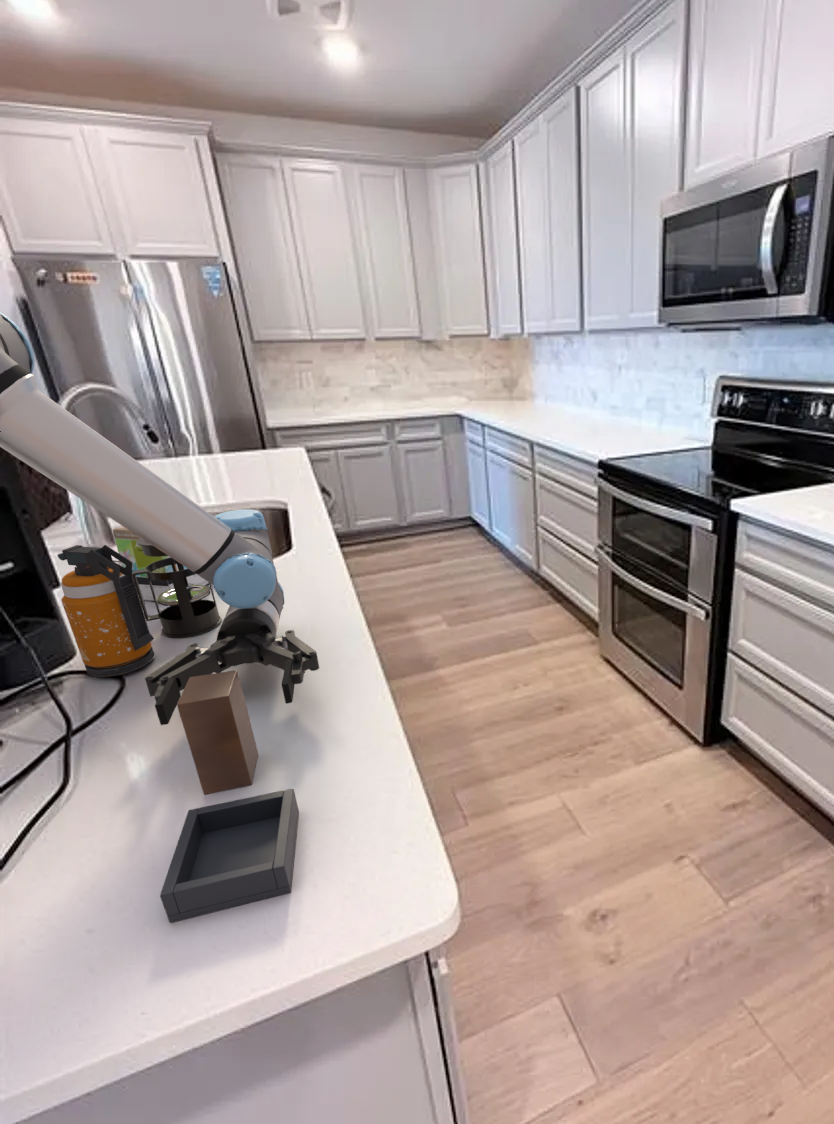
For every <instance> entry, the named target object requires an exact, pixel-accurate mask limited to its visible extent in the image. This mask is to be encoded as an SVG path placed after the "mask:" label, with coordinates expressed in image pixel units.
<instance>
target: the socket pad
mask: <svg viewBox="0 0 834 1124" xmlns="http://www.w3.org/2000/svg"><path fill="white" fill-rule="evenodd" d="M299 815H300V810H299V807H298V802H297V798H296V793H295V789H294V788H288V789H284V790H279V791H274V792H269V793H268V792H267V793H264V794H259V795H255V796H249V797H244V798H240V799H235V800H230V801H225V802H221V803H216V804H215V803H214V804H211V805H207V806H201V807H196V808H191V809H188V811H187V813H186V816H185V820H184V823H183V826H182V829H181V832H180V835H179V838H178V841H177V843H176V846H175V850H174V852H173V854H172V855H173V856H172V858H171V862H170V864H169V868H168V871H167V874H166V876H165V880H164V882H163V886H162V889H161V891H160V893H159V897H160V900H161V903H162V905H163V909H164V911H165V914H166V916H167V920H168V923H175V922H179V921H183V920H186V919H190V918H191V919H192V918H194V917H198V916H203V915H207V914H210V913H214V912H219V911H222V910H227V909H230V908H234V907H238V906H239V907H240V906H242V905H243V906H244V905H247V904H250V903H254V902H259V901H262V900H266V899H270V898H274V897H278V896H282V895H287V894H291V892H292V887H293V886H292V885H293V876H294V866H295V857H296V846H297V837H298V836H297V835H298V827H299V817H300V816H299Z"/></svg>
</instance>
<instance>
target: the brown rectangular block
mask: <svg viewBox="0 0 834 1124" xmlns="http://www.w3.org/2000/svg"><path fill="white" fill-rule="evenodd" d="M176 708H177V710H178V713H179V716H180V720H181V723H182V726H183V730H184V733H185V736H186V739H187V744H188V745H189V750H190V753H191V757H192V760H193V763H194V766H195V770H196V773H197V776H198V779H199V782H200V786H201V790H202V793H203V795H208V794H215V793H218V792H223V791H229V790H232V789H238V788H243V787H248V786H252V785H253V780H254V776H255V772H256V767H257V762H258V758H259V751H258V747H257V743H256V739H255V736H254V732H253V727H252V723H251V719H250V716H249V712H248V706H247V703H246V700H245V695H244V691H243V687H242V683H241V679H240V675H239V672H238V670H237V669H233V670H227V671H222V672H220V673H212V674H208V675H201V676H195V677H190V678H189V680H188V682H187V684H186V686H185V688H184V689H183V690H182V693H181V697H180V699H179V701H178V703H177V706H176Z"/></svg>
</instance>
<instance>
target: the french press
mask: <svg viewBox="0 0 834 1124" xmlns="http://www.w3.org/2000/svg"><path fill="white" fill-rule="evenodd" d="M137 544H138V545H139V546H141V547H142V550H143V553H144V555H146V556H152V557H160V556H168V555H167V554H165V553H163V552H162V551H160V550H159V549H157V548H156V547H154V546H153V545H151V544H150V543H148V542H146V541H145V540H143V539H142V538H140V539H138V540H137ZM169 565H171V566H172V569H173V572H167V573H153V572H152V571H154V570H156V569H159V568H162V567H165V566H169ZM145 573H146V575H147V578H148V581H149V585H150V588H151V591H152V595H153V598H154V601H153V602H154V604H155V608H156V611H157V614H152V615H149V613H148V610H147V607H146V604H145V600H143V597H142V594H141V590H140V587H139V584H138V581H137V577H136V575H139V574H145ZM195 574H196V573H194V572H193V571H191V570H190V569H184V566H183V565H182V564H180V563H179V562H177V561H176V560H174V559H173V558H166V559H162V560H159V561H156V562H153V563H151V564H149V565H148V566H147V567H146V568H145V569H142V570H136V571H133V573H132V576H133V580H134V583H135V585H136V588H137V589H136V590H137V593H138V596H139V599H140V603H141V606H142V610H143V613H144V616H145V620H146V622H151V621H156V620H159V621H160V625H161V634H162V635H163V636H164V637H165V638H170V639H184V638H191V637H196V636H199V635H200V636H201V635H203V634H206V633H208V632H210V631H213V630H214V629H216V628H218V627H219V626H221V624H222V622H223V619H222V617H221V615H220V613H219V609H218V605H217V601H216V598H215V593H214V588H213V585H212V584H211V583H208V584H209V585H207V584H206V585H188V581H187V578H186V577H188V576H192V575H195ZM150 579H151V580H160V581H161V580H172V582H173V586H174V588H173V589H170V590H167V591H165V592H163V593H161V594H159V595H158V596H157V597H155V593H154V590H153V587H152V583H151V580H150ZM209 595H211V597H212V600H211V599H205V598H207V597H208V596H209ZM159 605H160V606H166V608H164V609H163V610H160V607H159ZM220 623H221V624H220ZM218 625H219V626H218Z"/></svg>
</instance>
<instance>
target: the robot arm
mask: <svg viewBox="0 0 834 1124" xmlns="http://www.w3.org/2000/svg"><path fill="white" fill-rule="evenodd" d="M34 370H35V353H34V349H33V346H32V344H31V343H30V340H29V338H28V337H27V335H26V334H25V332H24V331H23V330H22V329H21V327H19V325H18V324H17V323H16V322H14V320H12V319H11V318H10V317H9V316H7V315H6V314H4V313H3V312H1V311H0V431H1V432H0V448H1V449H3V450H4V451H6V452H7V453H9V454H11V455H12V456H14V457H15V458H16V459H19V460H20V461H21V462H23V463H24V464H26V465H28V466H29V467H31V468H32V469H34V470H35V471H36V472H38V473H40V474H42V475H43V476H45V477H46V478H47V479H49V480H51V481H52V482H54V483H55V484H57V485H58V486H60V487H61V488H63V489H65V490H66V491H68V492H69V493H71V494H72V495H74V496H75V497H77V498H79V500H81V501H83V502H84V503H86V504H88V505H89V506H91V507H92V508H94V509H95V510H97V511H98V512H100V513H102V514H103V515H105V516H106V517H108V518H110V519H111V520H112V521H114V522H115V523H117V524H119V525H120V526H123V527H125V528H126V529H128V530H130V531H131V532H133V533H134V534H136V535H137V536H139V537H140V538H142V539H143V540H145V541H146V542H148V543H150V544H151V545H153V546H154V547H156V548H157V549H159V550H160V551H162V552H163V553H165V554H167V555H168V556H170V557H171V558H173V559H174V560H176V561H177V562H179V563H180V564H182V565H184V566H185V567H187V568H188V569H190V570H191V571H193V572H194V573H196V574H197V575H199V576H200V577H202V578H203V579H205V580H206V581H208V582H209V583H211V585H212V586H213V590H214V591H215V592H216V594H217V596H218V597H219V599H220V600H221V601H223V603H225V604H226V605H228V609H227V611H226V613H225V615H224V618H223V619H222V621H221V624H220V626H219V630H218V632H217V634H216V635H217V636H216V641H214V642H213V643H212V644H211V645H210V646H209V647H200V646H199V643H198V642H197V643H196V642H195V643H191V644H189V645H188V646H187V647H186V649H185V650H184V651H183V652H181V653H180V654H178V655H177V656H175V657H174V658H172V659H170V660H169V661H168V662H166V663H165V664H163V665H162V666H160V667H159V668H157V669H156V670H154V671H153V672H152V673H149V675H147V676H145V677H144V681H145V683H146V687H147V690H148V694H149V696H150V697H153V698H154V700H155V704H154V708H155V711H156V714H157V718H158V721H159V724H160V726H165V725H169V723H170V721H171V719H172V717H173V714H174V712H175V710H176V708H177V703H178V701H179V699H180V697H181V695H182V693H181V691H183V690H184V688H185V686H186V684H187V682H188V680H189V678H190V677H195V676H201V675H208V674H214V673H221V672H225V671H226V670H227V669H229V668H231V667H237V666H240V665H250V664H251V665H252V664H257V663H258V664H260V665H263V666H266V667H267V666H272V667H275V668H277V669H280V670H283V674H282V681H281V688H282V694H283V697H284V702H285V704H291V703H293V699H294V692H295V685H299V684H300V685H301V684H302V683H303V682H304V677H305V673H306V671H308V670H309V671H311V672H314V671H318V670H319V669H320V665H319V660H318V659H319V658H318V653H317V651H316V650H315V649H313V647H311V646H309V645H308V644H306V643H305V642H304V641H302V640H301V639H300V638H298V637H297V636H296V634H295V631H294V629H289V630H286V631H285V633H284V634H283V635H281V636H280V637H277V633H278V629H279V624H280V618H281V615H282V612H283V609H284V605H285V592H284V588H283V586H282V585H281V583H280V582H279V580H278V576H277V570H276V569H277V568H276V566H275V563H274V557H273V552H272V551H273V550H272V546H271V542H270V536H269V530H268V527H267V523H266V520H265V516H264V514H263V513H262V512H261V511H259V510H256V509H250V508H249V509H248V508H247V509H245V508H244V509H234V510H228V511H224V512H220V513H218V514H216V515H212V513H211V512H210V513H208V512H209V511H207V510H205V508H203V507H201V506H200V505H199V504H197V503H196V502H194V501H193V500H192V499H190V498H189V497H188V496H186V495H185V494H184V493H182V492H181V491H180V490H178V489H176V488H175V487H174V486H173V485H171V484H169V482H167V481H165V479H162V477H160V476H159V475H157V474H156V473H154V472H153V471H152V470H150V469H149V468H147V467H146V466H145V465H143V464H142V463H141V462H139V461H138V460H136V459H135V458H133V457H132V456H131V455H129V454H128V453H127V452H125V451H124V450H122V449H121V448H120V447H118V446H117V445H116V444H114V443H113V442H111V441H110V440H108V438H106V437H104V436H103V435H101V434H100V433H99V432H98V431H96V430H95V429H93V428H92V427H90V426H89V425H88V424H86V423H85V422H83V421H82V420H81V419H80V418H78V417H76V416H75V415H74V414H72V413H71V412H69V410H67V409H66V408H64V407H63V406H61V405H60V404H59V403H57V402H55V400H53V399H52V398H50V397H49V396H47V395H46V394H45V393H43V392H42V391H41V390H40V389H39V387H38V383H37V379H36V376H35V375H34V374H33V372H34ZM209 583H208V584H209Z"/></svg>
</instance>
